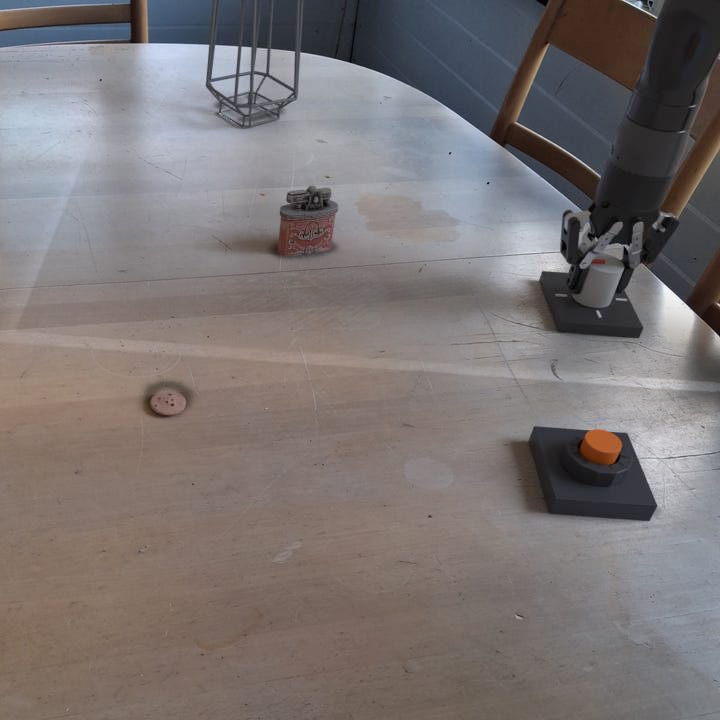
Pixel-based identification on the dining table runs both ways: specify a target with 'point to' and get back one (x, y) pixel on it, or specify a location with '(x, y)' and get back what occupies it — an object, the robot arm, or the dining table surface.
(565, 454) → the button block
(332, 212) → the lighter
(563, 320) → the dial panel
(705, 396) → the dining table surface
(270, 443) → the dining table surface
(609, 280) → the timer dial
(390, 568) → the dining table surface
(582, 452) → the button
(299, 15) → the geometric lantern
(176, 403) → the cookie
